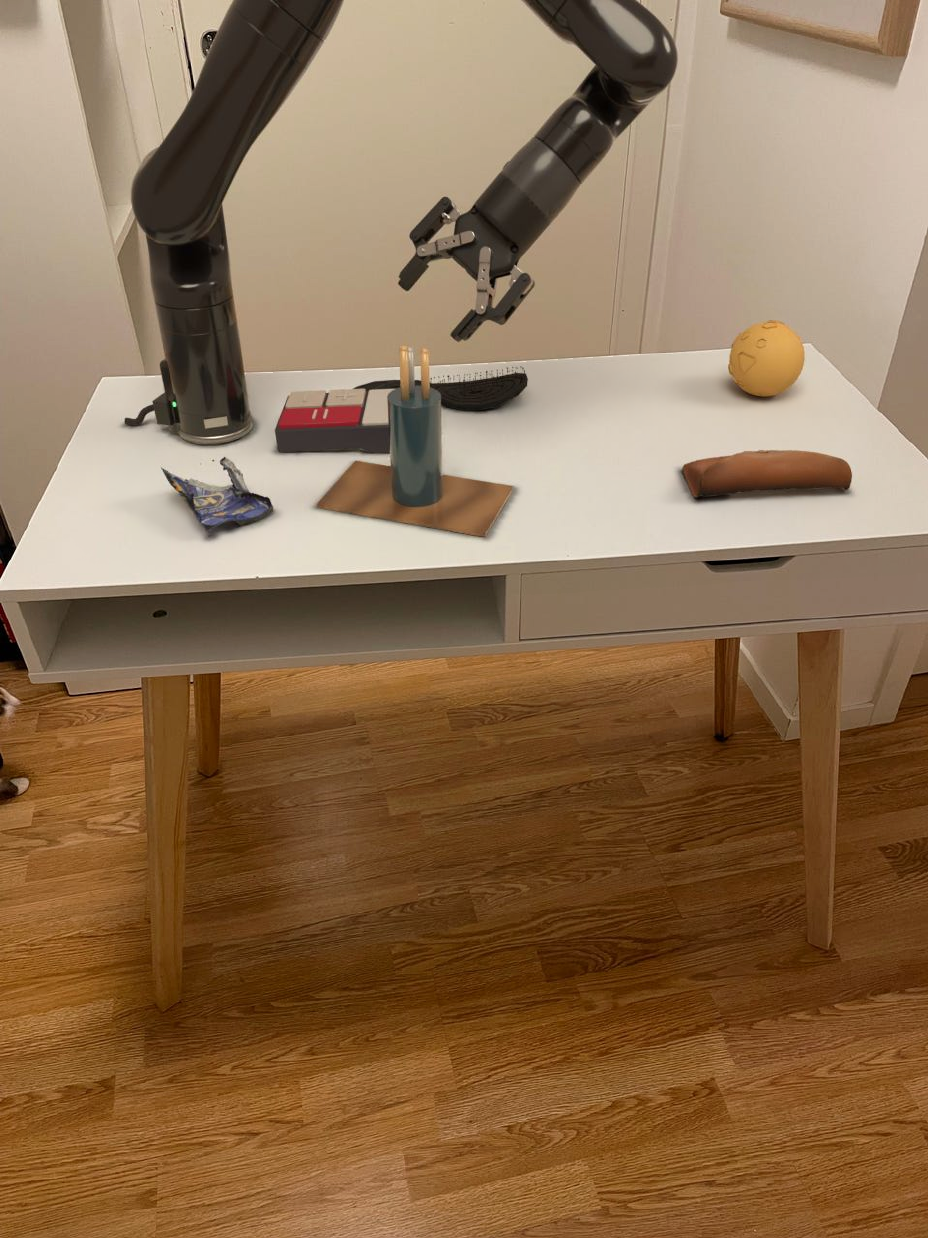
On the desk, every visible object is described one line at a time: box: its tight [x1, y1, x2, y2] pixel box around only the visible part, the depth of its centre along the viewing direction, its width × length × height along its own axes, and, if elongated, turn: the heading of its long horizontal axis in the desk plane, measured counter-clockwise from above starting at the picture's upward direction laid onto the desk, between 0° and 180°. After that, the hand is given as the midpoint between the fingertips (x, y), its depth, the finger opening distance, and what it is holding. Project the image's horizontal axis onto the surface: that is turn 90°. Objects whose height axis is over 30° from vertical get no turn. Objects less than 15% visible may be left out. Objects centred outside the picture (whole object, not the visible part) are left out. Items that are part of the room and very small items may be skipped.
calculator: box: [274, 388, 394, 454], centre depth 123 cm, size 11×4×15 cm
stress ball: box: [727, 319, 806, 397], centre depth 131 cm, size 10×10×10 cm
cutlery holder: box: [387, 344, 443, 507], centre depth 105 cm, size 6×6×18 cm
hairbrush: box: [352, 365, 529, 412], centre depth 132 cm, size 8×4×25 cm
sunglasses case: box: [681, 449, 853, 499], centre depth 113 cm, size 18×7×7 cm, turn 96°
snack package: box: [160, 456, 274, 538], centre depth 107 cm, size 12×6×12 cm
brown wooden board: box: [316, 460, 514, 538], centre depth 111 cm, size 20×11×1 cm, turn 72°
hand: (427, 312), depth 108 cm, fingers open, 8 cm apart
